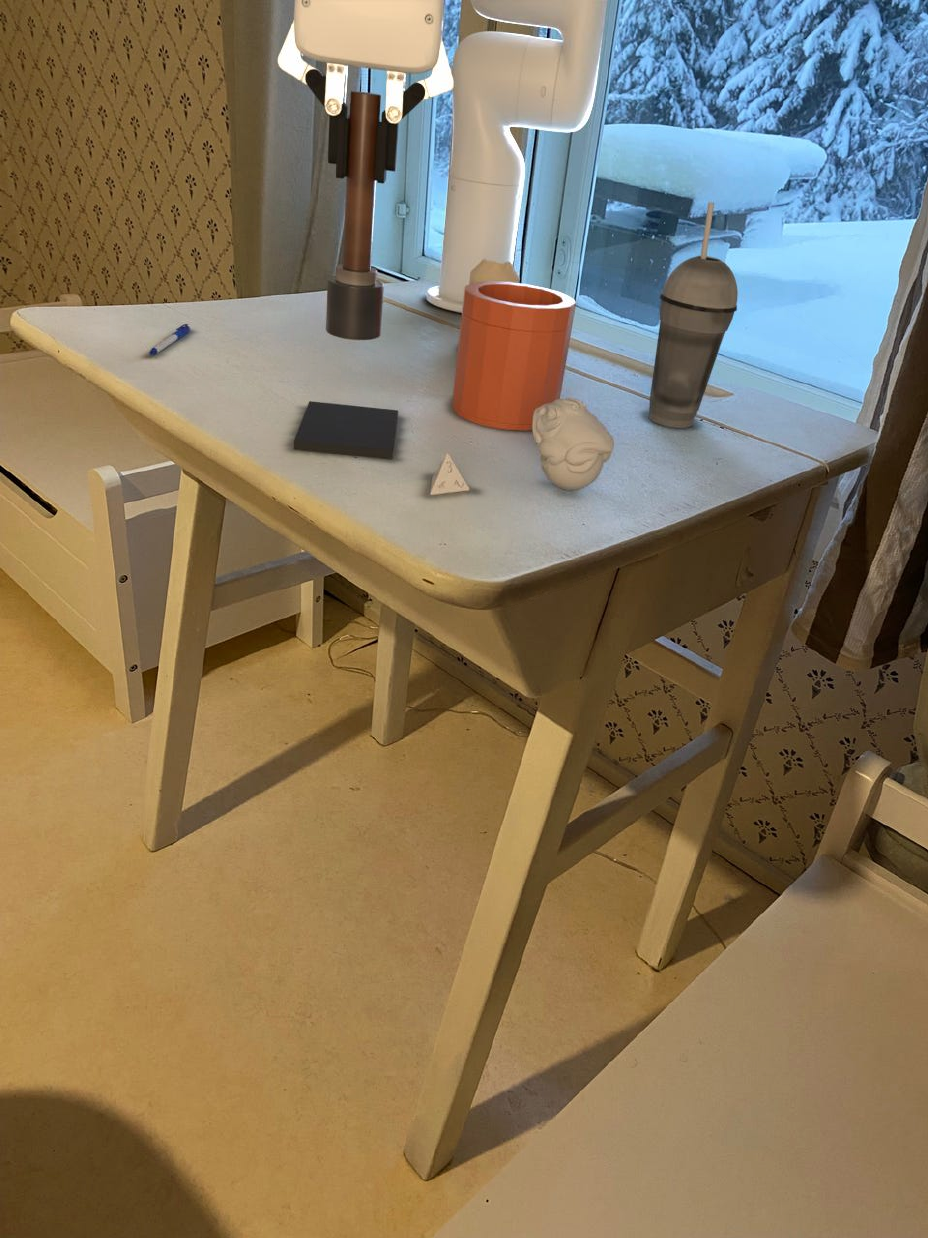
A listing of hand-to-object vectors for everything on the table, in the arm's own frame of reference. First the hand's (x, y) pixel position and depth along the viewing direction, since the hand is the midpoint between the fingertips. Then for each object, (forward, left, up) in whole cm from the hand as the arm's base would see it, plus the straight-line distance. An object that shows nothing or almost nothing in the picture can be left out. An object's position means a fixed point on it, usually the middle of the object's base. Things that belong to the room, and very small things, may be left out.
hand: (361, 176), depth 69 cm
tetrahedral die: (+10, +8, -20) cm, 24 cm away
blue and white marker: (-21, -20, -20) cm, 35 cm away
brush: (0, 0, -12) cm, 12 cm away
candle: (-31, +13, -20) cm, 39 cm away
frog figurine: (+7, +18, -20) cm, 28 cm away
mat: (0, 0, -20) cm, 20 cm away
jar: (-10, +14, -20) cm, 26 cm away
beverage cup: (-13, +31, -20) cm, 39 cm away
